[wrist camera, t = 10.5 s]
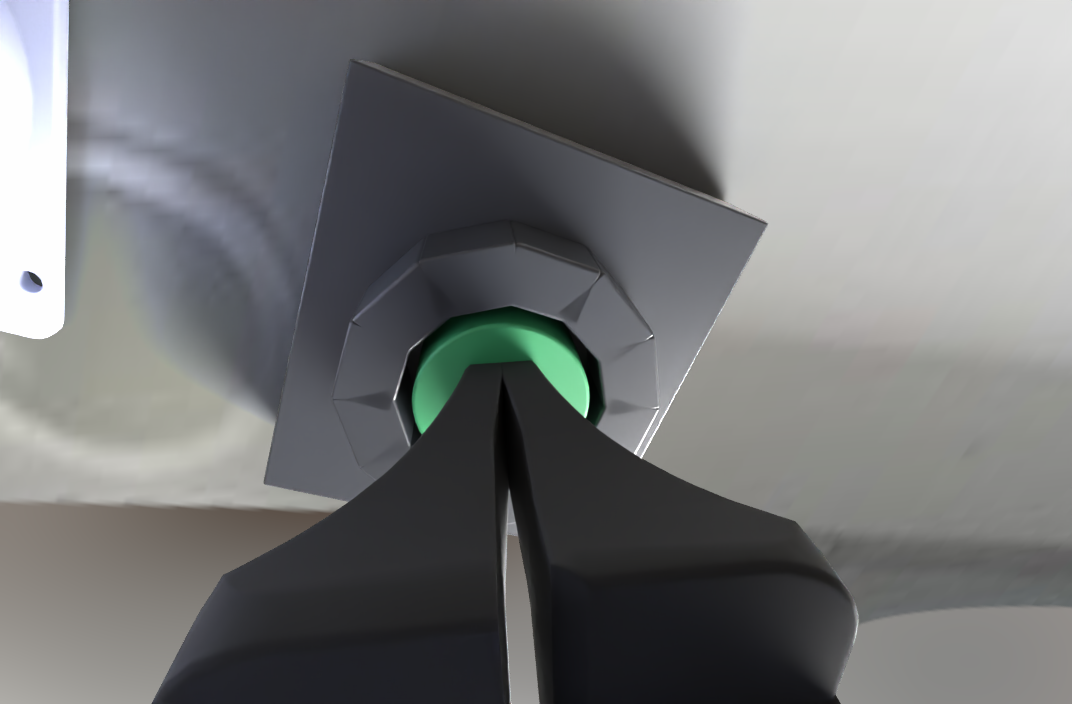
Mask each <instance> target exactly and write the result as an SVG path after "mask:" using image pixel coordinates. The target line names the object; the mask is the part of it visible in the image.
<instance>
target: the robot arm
mask: <svg viewBox="0 0 1072 704" xmlns="http://www.w3.org/2000/svg"><path fill="white" fill-rule="evenodd" d="M68 33H69V0H0V331H5V332H9V333H13V334H17V335H21V336H25V337H29V338H37V339H42V338H46V337H49V336H51V335H52V334H54V333H56V332H57V331H58V330H59V329H60V328H62V326H63V322H64V287H65V224H66V160H67V96H68ZM29 271H30V272H32V273H34V274H36V275H37V276H38V277H39V278H40V279H41V281H42V284H43V286H42V287H41V286H39V285H37V284H35V283H34V282H33V281H32V280H31V279H30V276H29V273H28V272H29ZM508 481H509V482H508ZM509 491H510V496H511V501H512V507H513V512H514V517H515V522H516V527H517V533H518V538H519V543H520V548H521V553H522V558H523V564H524V569H525V574H526V579H527V585H528V592H529V598H530V605H531V616H532V627H533V637H534V648H535V659H536V669H537V680H538V690H539V702H540V704H840V702H839V700H838V698H837V697H836V692H837V689H838V686H839V684H840V681H841V678H842V675H843V672H844V670H845V667H846V664H847V661H848V658H849V655H850V653H851V650H852V647H853V644H854V641H855V637H856V632H857V626H858V620H859V616H858V612H857V608H856V604H855V600H854V597H853V596H852V595H851V593H850V592H849V590H848V589H847V588H846V586H845V585H844V584H843V582H842V581H841V579H840V578H839V577H838V575H837V574H836V572H835V571H834V569H833V568H832V566H831V565H830V564H829V562H828V561H827V559H826V558H825V557H824V555H823V554H822V553H821V551H820V550H819V549H818V548H817V546H816V545H815V544H814V543H813V542H812V540H811V539H810V538H809V537H808V536H807V535H806V533H805V532H804V531H803V530H802V529H801V527H800V526H799V525H798V524H797V523H796V522H795V521H792V520H789V519H786V518H783V517H780V516H777V515H774V514H771V513H768V512H765V511H762V510H759V509H756V508H753V507H750V506H747V505H743V504H740V503H737V502H734V501H732V500H729V499H726V498H724V497H721V496H719V495H716V494H714V493H712V492H709V491H707V490H704V489H702V488H700V487H697V486H695V485H693V484H690V483H688V482H686V481H684V480H682V479H680V478H678V477H675V476H673V475H671V474H669V473H668V472H666V471H664V470H662V469H660V468H658V467H656V466H655V465H653V464H651V463H649V462H647V461H645V460H644V459H642V458H640V457H639V456H637V455H635V454H634V453H632V452H630V451H629V450H627V449H626V448H624V447H623V446H621V445H620V444H618V443H617V442H615V441H614V440H613V439H611V438H610V437H608V436H607V435H605V434H604V433H603V432H601V431H600V430H599V429H598V428H596V427H595V426H594V425H593V424H592V423H591V422H589V421H588V420H587V419H586V418H585V417H584V416H583V415H581V414H580V413H579V412H578V411H577V410H576V409H575V408H574V407H573V406H572V405H571V404H570V403H569V402H568V401H567V400H566V399H565V398H564V397H563V396H562V395H561V394H560V393H559V392H558V390H557V389H556V388H555V387H554V386H553V385H552V384H551V383H550V381H549V380H548V379H547V378H546V377H545V375H544V374H543V373H542V372H541V370H540V369H539V368H538V366H537V365H536V364H535V363H534V362H533V361H531V360H529V361H514V362H500V363H485V364H470V365H469V366H468V367H467V368H466V369H465V371H464V373H463V375H462V377H461V379H460V381H459V383H458V385H457V386H456V388H455V390H454V391H453V393H452V395H451V396H450V398H449V399H448V401H447V402H446V403H445V405H444V406H443V408H442V409H441V411H440V412H439V414H438V415H437V416H436V418H435V419H434V420H433V422H432V423H431V424H430V425H429V427H428V428H427V429H426V430H425V432H424V433H423V434H422V435H421V436H420V438H419V439H418V440H417V441H416V442H415V444H414V445H413V446H412V447H411V448H410V449H409V450H408V451H407V452H406V453H405V454H404V455H403V457H402V458H401V459H400V460H399V461H397V462H396V463H395V464H394V465H393V466H392V467H391V468H390V469H389V470H388V471H387V472H386V473H385V474H383V475H382V476H381V477H380V478H378V479H377V480H376V481H375V482H373V483H372V484H371V485H370V486H368V487H367V488H366V489H365V490H363V491H362V492H361V493H360V494H358V495H357V496H356V497H355V498H353V499H352V500H351V501H349V502H348V503H347V504H345V505H344V506H342V507H341V508H339V509H338V510H337V511H335V512H334V513H332V514H331V515H329V516H328V517H326V518H325V519H323V520H322V521H320V522H319V523H317V524H315V525H314V526H312V527H310V528H309V529H307V530H306V531H304V532H303V533H301V534H299V535H297V536H296V537H294V538H292V539H291V540H289V541H287V542H285V543H283V544H282V545H280V546H278V547H276V548H274V549H272V550H270V551H268V552H267V553H265V554H263V555H261V556H260V557H257V558H255V559H254V560H252V561H250V562H248V563H246V564H244V565H242V566H240V567H239V568H237V569H235V570H233V571H230V572H229V573H226V574H224V575H223V576H222V577H221V579H220V581H219V582H218V584H217V586H216V587H215V589H214V591H213V592H212V594H211V595H210V597H209V598H208V600H207V601H206V603H205V604H204V606H203V607H202V609H201V610H200V612H199V614H198V616H197V618H196V620H195V621H194V623H193V625H192V627H191V629H190V630H189V632H188V634H187V636H186V638H185V640H184V642H183V644H182V646H181V648H180V650H179V652H178V654H177V655H176V657H175V660H174V661H173V663H172V665H171V667H170V669H169V671H168V673H167V675H166V677H165V679H164V681H163V683H162V684H161V687H160V688H159V690H158V692H157V694H156V696H155V698H154V700H153V702H152V704H511V695H510V678H509V661H508V643H507V626H506V607H505V580H506V554H507V527H508V500H509Z"/></svg>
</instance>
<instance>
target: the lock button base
mask: <svg viewBox="0 0 1072 704" xmlns="http://www.w3.org/2000/svg"><path fill="white" fill-rule="evenodd" d="M767 225H768V223H767V222H766V221H764V220H762V219H760V218H758V217H756V216H754V215H752V214H750V213H747V212H745V211H743V210H741V209H739V208H737V207H735V206H733V205H731V204H729V203H727V202H725V201H722V200H720V199H717V198H715V197H712V196H710V195H707V194H704V193H702V192H699V191H697V190H694V189H692V188H689V187H687V186H684V185H682V184H679V183H677V182H674V181H672V180H669V179H667V178H664V177H662V176H659V175H656V174H654V173H651V172H649V171H646V170H644V169H641V168H639V167H636V166H634V165H631V164H629V163H626V162H624V161H621V160H619V159H616V158H614V157H611V156H608V155H606V154H603V153H601V152H598V151H596V150H593V149H591V148H588V147H586V146H583V145H581V144H578V143H576V142H573V141H571V140H568V139H566V138H563V137H560V136H558V135H555V134H553V133H550V132H548V131H545V130H543V129H540V128H538V127H535V126H533V125H530V124H528V123H525V122H523V121H520V120H518V119H515V118H512V117H510V116H507V115H505V114H502V113H500V112H497V111H495V110H492V109H490V108H487V107H485V106H482V105H480V104H477V103H475V102H472V101H470V100H467V99H464V98H462V97H459V96H457V95H454V94H452V93H449V92H447V91H444V90H442V89H439V88H437V87H434V86H432V85H429V84H427V83H424V82H422V81H419V80H416V79H414V78H411V77H409V76H406V75H404V74H401V73H399V72H396V71H394V70H391V69H389V68H386V67H384V66H381V65H379V64H376V63H374V62H368V61H362V60H355V59H350V61H349V64H348V69H347V74H346V79H345V83H344V88H343V93H342V98H341V103H340V108H339V113H338V118H337V123H336V128H335V133H334V138H333V143H332V147H331V152H330V157H329V162H328V167H327V172H326V177H325V182H324V187H323V192H322V197H321V202H320V206H319V211H318V216H317V221H316V226H315V231H314V236H313V241H312V246H311V251H310V256H309V261H308V266H307V270H306V275H305V280H304V285H303V290H302V295H301V300H300V305H299V310H298V315H297V320H296V325H295V329H294V334H293V339H292V344H291V349H290V354H289V359H288V364H287V369H286V374H285V379H284V384H283V389H282V393H281V398H280V403H279V408H278V413H277V418H276V423H275V428H274V433H273V438H272V443H271V448H270V453H269V457H268V462H267V467H266V472H265V477H264V484H265V485H269V486H274V487H279V488H284V489H289V490H294V491H299V492H304V493H309V494H313V495H318V496H323V497H328V498H333V499H338V500H343V501H348V502H349V501H351V500H352V499H353V498H355V497H356V496H357V495H358V494H360V493H361V492H362V491H363V490H365V489H366V488H367V487H368V486H370V485H371V484H372V483H373V482H375V481H376V480H377V479H378V478H380V477H381V476H382V475H383V474H385V473H386V472H387V471H388V470H389V469H390V468H391V467H392V466H393V465H394V464H395V463H396V462H397V461H399V460H400V459H401V458H402V457H403V455H404V454H405V453H406V452H407V451H408V450H409V449H410V448H411V447H412V446H413V445H414V444H415V442H416V441H417V440H418V439H419V438H420V436H421V435H422V434H421V433H420V431H419V429H418V427H417V424H416V422H415V418H414V414H413V408H412V394H413V387H414V382H415V377H416V372H417V367H418V362H419V357H420V353H421V348H422V345H423V342H424V340H425V339H426V338H427V337H428V336H429V335H431V334H432V333H433V332H434V331H435V330H437V329H438V328H439V327H440V326H441V325H442V324H444V323H445V322H446V321H447V320H448V319H450V318H451V317H455V316H461V315H466V314H471V313H476V312H481V311H486V310H492V309H497V308H502V307H507V306H514V307H517V308H521V309H524V310H527V311H530V312H534V313H537V314H540V315H543V316H546V317H550V318H553V319H556V320H559V321H562V322H563V323H564V324H565V326H566V327H567V329H568V331H569V332H570V334H571V336H572V339H573V342H574V344H575V347H576V350H577V352H578V355H579V358H580V360H581V363H582V366H583V368H584V371H585V374H586V376H587V381H588V385H589V396H590V397H589V407H588V412H587V416H586V419H587V420H588V421H589V422H591V423H592V424H593V425H594V426H595V427H596V428H598V429H599V430H600V431H601V432H603V433H604V434H605V435H607V436H608V437H610V438H611V439H613V440H614V441H615V442H617V443H618V444H620V445H621V446H623V447H624V448H626V449H627V450H629V451H630V452H632V453H634V454H635V455H637V456H639V457H640V458H642V456H643V454H644V453H645V451H646V449H647V447H648V445H649V443H650V442H651V440H652V438H653V436H654V434H655V432H656V430H657V429H658V427H659V425H660V423H661V421H662V419H663V418H664V416H665V414H666V412H667V410H668V408H669V406H670V405H671V403H672V401H673V399H674V397H675V395H676V394H677V392H678V390H679V388H680V386H681V384H682V382H683V381H684V379H685V377H686V375H687V373H688V371H689V370H690V368H691V366H692V364H693V362H694V360H695V358H696V357H697V355H698V353H699V351H700V349H701V347H702V346H703V344H704V342H705V340H706V338H707V336H708V335H709V333H710V331H711V329H712V327H713V325H714V323H715V322H716V320H717V318H718V316H719V314H720V312H721V311H722V309H723V307H724V305H725V303H726V301H727V299H728V298H729V296H730V294H731V292H732V290H733V288H734V287H735V285H736V283H737V281H738V279H739V277H740V275H741V274H742V272H743V270H744V268H745V266H746V264H747V263H748V261H749V259H750V257H751V255H752V253H753V251H754V250H755V248H756V246H757V244H758V242H759V240H760V239H761V237H762V235H763V233H764V231H765V229H766V228H767ZM508 482H509V481H508ZM507 534H510V535H515V536H518V533H517V527H516V522H515V517H514V512H513V507H512V501H511V496H510V491H509V500H508V527H507Z"/></svg>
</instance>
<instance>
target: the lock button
mask: <svg viewBox="0 0 1072 704" xmlns="http://www.w3.org/2000/svg"><path fill="white" fill-rule="evenodd" d="M529 360H531V361H533V362H534V363H535V364H536V365H537V366H538V368H539V369H540V370H541V372H542V373H543V374H544V375H545V377H546V378H547V379H548V380H549V381H550V383H551V384H552V385H553V386H554V387H555V388H556V389H557V390H558V392H559V393H560V394H561V395H562V396H563V397H564V398H565V399H566V400H567V401H568V402H569V403H570V404H571V405H572V406H573V407H574V408H575V409H576V410H577V411H578V412H579V413H580V414H581V415H583V416H584V417H585V418H586V416H587V412H588V407H589V397H590V396H589V385H588V381H587V376H586V374H585V371H584V368H583V366H582V363H581V360H580V358H579V355H578V352H577V350H576V347H575V344H574V342H573V339H572V336H571V334H570V332H569V331H568V329H567V327H566V326H565V324H564V323H563V322H562V321H559V320H556V319H553V318H550V317H546V316H543V315H540V314H537V313H534V312H530V311H527V310H524V309H521V308H517V307H514V306H507V307H502V308H497V309H492V310H486V311H481V312H476V313H471V314H466V315H461V316H455V317H451V318H450V319H448V320H447V321H446V322H445V323H444V324H442V325H441V326H440V327H439V328H438V329H437V330H435V331H434V332H433V333H432V334H431V335H429V336H428V337H427V338H426V339H425V340H424V342H423V345H422V348H421V353H420V357H419V362H418V367H417V372H416V377H415V382H414V387H413V394H412V408H413V414H414V418H415V422H416V424H417V427H418V429H419V431H420V433H421V434H423V433H424V432H425V430H426V429H427V428H428V427H429V425H430V424H431V423H432V422H433V420H434V419H435V418H436V416H437V415H438V414H439V412H440V411H441V409H442V408H443V406H444V405H445V403H446V402H447V401H448V399H449V398H450V396H451V395H452V393H453V391H454V390H455V388H456V386H457V385H458V383H459V381H460V379H461V377H462V375H463V373H464V371H465V369H466V368H467V367H468V366H469V365H470V364H485V363H500V362H514V361H529Z"/></svg>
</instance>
